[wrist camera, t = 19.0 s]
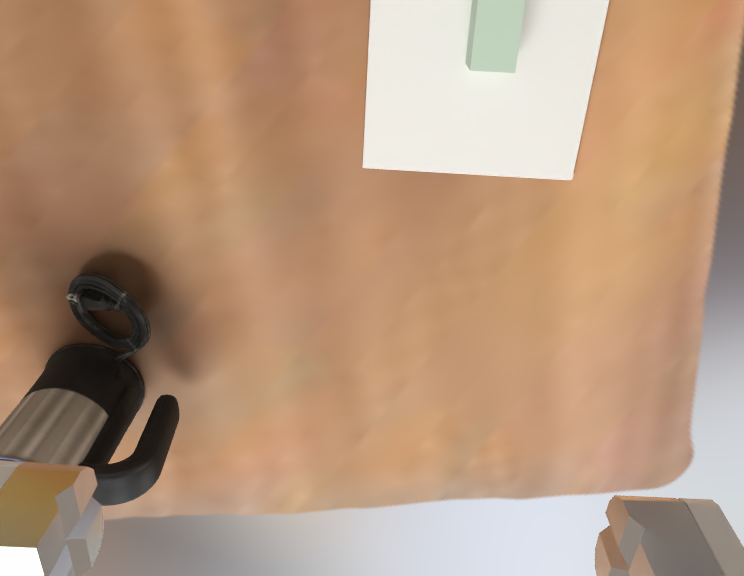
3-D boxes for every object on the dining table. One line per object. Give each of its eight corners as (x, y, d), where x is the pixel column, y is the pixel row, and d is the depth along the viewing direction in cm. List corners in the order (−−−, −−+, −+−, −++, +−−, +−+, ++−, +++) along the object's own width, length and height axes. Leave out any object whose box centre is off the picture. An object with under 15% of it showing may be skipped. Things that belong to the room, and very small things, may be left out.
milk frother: (73, 430, 63) (-9, 558, 50) (-14, 293, 56) (-136, 400, 43) (208, 400, 61) (160, 525, 48) (135, 254, 54) (55, 354, 41)
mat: (569, 177, 50) (571, 180, 50) (363, 165, 50) (362, 167, 50) (649, -208, 39) (653, -210, 38) (382, -225, 39) (382, -227, 38)
